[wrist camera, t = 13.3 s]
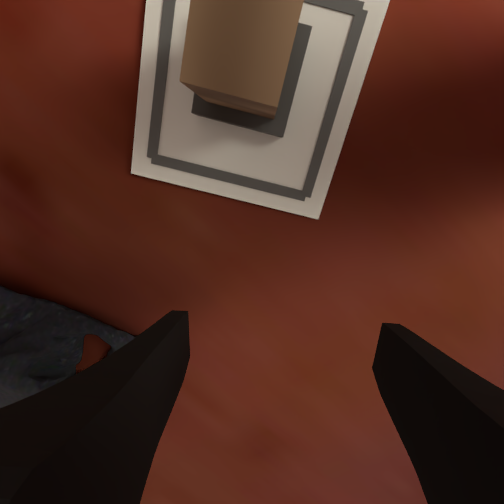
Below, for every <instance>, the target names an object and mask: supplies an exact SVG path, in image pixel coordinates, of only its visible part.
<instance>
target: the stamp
mask: <svg viewBox="0 0 504 504" xmlns="http://www.w3.org/2000/svg"><path fill="white" fill-rule="evenodd" d="M303 2H304V0H190V7H189V14H188V21H187V29H186V36H185V43H184V50H183V58H182V65H181V72H180V79H179V81H180V82H181V83H182V84H184V85H185V86H186V87H188V88H189V89H190V90H192V91H193V92H194V97H193V104H192V110H191V113H193V114H195V115H197V116H201V117H205V118H208V119H212V120H216V121H220V122H224V123H227V124H231V125H235V126H239V127H243V128H246V129H250V130H254V131H258V132H262V133H265V134H269V135H273V136H277V137H281V138H282V137H283V136H284V132H285V129H286V125H287V121H288V117H289V113H290V110H291V106H292V102H293V98H294V94H295V91H296V87H297V83H298V79H299V75H300V72H301V68H302V64H303V60H304V56H305V53H306V49H307V45H308V41H309V37H310V34H311V30H312V26H310V25H306V24H302V23H299V18H300V14H301V10H302V6H303Z"/></svg>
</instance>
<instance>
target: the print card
mask: <svg viewBox="0 0 504 504" xmlns="http://www.w3.org/2000/svg"><path fill="white" fill-rule="evenodd" d="M389 2H390V0H304V2H303V6H302V10H301V14H300V18H299V23H302V24H306V25H310V26H312V30H311V34H310V37H309V41H308V45H307V49H306V53H305V56H304V60H303V64H302V68H301V72H300V75H299V79H298V83H297V87H296V91H295V94H294V98H293V102H292V106H291V110H290V113H289V117H288V121H287V125H286V129H285V132H284V136H283V137H282V138H281V137H277V136H273V135H269V134H265V133H262V132H258V131H254V130H250V129H246V128H243V127H239V126H235V125H231V124H227V123H224V122H220V121H216V120H212V119H208V118H205V117H201V116H197V115H195V114H193V113H191V110H192V104H193V97H194V92H193V91H192V90H190V89H189V88H188V87H186V86H185V85H184V84H182V83H181V82H180V81H179V79H180V72H181V65H182V58H183V50H184V43H185V36H186V29H187V21H188V14H189V7H190V0H146V8H145V20H144V31H143V42H142V53H141V65H140V76H139V87H138V99H137V110H136V121H135V132H134V144H133V155H132V166H131V174H135V175H140V176H144V177H148V178H152V179H156V180H160V181H164V182H168V183H172V184H176V185H180V186H184V187H188V188H192V189H196V190H200V191H204V192H208V193H212V194H217V195H221V196H225V197H229V198H233V199H237V200H241V201H245V202H249V203H253V204H257V205H261V206H265V207H269V208H273V209H277V210H281V211H285V212H289V213H294V214H298V215H302V216H306V217H310V218H314V219H319V216H320V213H321V210H322V207H323V204H324V201H325V198H326V194H327V191H328V188H329V185H330V182H331V179H332V176H333V173H334V170H335V167H336V164H337V161H338V158H339V155H340V152H341V149H342V145H343V142H344V139H345V136H346V133H347V130H348V127H349V124H350V121H351V118H352V115H353V112H354V109H355V106H356V103H357V100H358V96H359V93H360V90H361V87H362V84H363V81H364V78H365V75H366V72H367V69H368V66H369V63H370V60H371V57H372V54H373V51H374V47H375V44H376V41H377V38H378V35H379V32H380V29H381V26H382V23H383V20H384V17H385V14H386V11H387V8H388V5H389Z"/></svg>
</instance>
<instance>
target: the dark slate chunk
mask: <svg viewBox="0 0 504 504" xmlns="http://www.w3.org/2000/svg"><path fill="white" fill-rule="evenodd" d="M86 334H94V335H97V336H99V337H100V338H101V339H102V340H104V341H105V342H106V343H107V344H109V345H110V346H111V349H110V351H109V352H108V354H107V356H109V355H110V354H112V353H113V352H115V351H116V350H118V349H119V348H121V347H122V346H124V345H125V344H127V343H128V342H130V341H131V340H133V339H134V338H136V337H137V336H136V337H134V336H132V335H131V334H129V333H127V332H124V331H119V330H117V329H115V328H114V327H112V326H110V325H107V324H105V323H102V322H100V321H98V320H96V319H94V318H92V317H90V316H88V315H86V314H83V313H80V312H78V311H75V310H71V309H70V308H67V307H65V306H63V305H58V304H57V303H55V302H51V301H48V300H45V299H38V298H34V297H31V296H28V295H22V294H18V293H16V292H14V291H12V290H9V289H7V288H5V287H3V286H0V408H2V407H5V406H7V405H10V404H12V403H15V402H17V401H20V400H22V399H24V398H27V397H29V396H31V395H34V394H36V393H38V392H41V391H43V390H45V389H47V388H49V387H51V386H53V385H55V384H57V383H59V382H61V381H63V380H66V379H68V378H70V377H72V376H74V375H76V364H78V363H79V362H80V361H81V358H82V353H83V343H84V336H85V335H86Z"/></svg>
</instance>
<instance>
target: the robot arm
mask: <svg viewBox="0 0 504 504" xmlns="http://www.w3.org/2000/svg"><path fill="white" fill-rule="evenodd" d="M189 358H190V345H189V321H188V311H174V310H172V311H171V312H169V313H168V314H166V315H165V316H164V317H162V318H161V319H160V320H158V321H157V322H156V323H154V324H153V325H152V326H151V327H149V328H148V329H146V330H145V331H144V332H142V333H141V334H140V335H138V336H137V337H136V338H134V339H133V340H131V341H130V342H128V343H127V344H125V345H124V346H122V347H121V348H119V349H118V350H116V351H115V352H113V353H112V354H110V355H109V356H107V357H106V358H104V359H102V360H101V361H99V362H97V363H96V364H94V365H92V366H90V367H88V368H87V369H85V370H83V371H81V372H79V373H78V374H76V375H74V376H72V377H70V378H68V379H66V380H63V381H61V382H59V383H57V384H55V385H53V386H51V387H49V388H47V389H45V390H43V391H41V392H38V393H36V394H34V395H31V396H29V397H27V398H24V399H22V400H20V401H17V402H15V403H12V404H10V405H7V406H5V407H2V408H0V504H140V501H141V497H142V494H143V490H144V487H145V484H146V480H147V477H148V474H149V470H150V467H151V464H152V461H153V457H154V454H155V451H156V449H157V446H158V443H159V440H160V438H161V435H162V433H163V431H164V428H165V426H166V423H167V421H168V418H169V416H170V413H171V411H172V408H173V406H174V403H175V401H176V398H177V396H178V393H179V391H180V388H181V386H182V383H183V380H184V377H185V373H186V370H187V366H188V362H189ZM372 369H373V372H374V376H375V379H376V382H377V385H378V388H379V391H380V394H381V397H382V399H383V401H384V403H385V405H386V408H387V410H388V412H389V414H390V416H391V418H392V421H393V423H394V425H395V427H396V429H397V431H398V433H399V436H400V438H401V440H402V442H403V444H404V446H405V448H406V450H407V453H408V455H409V457H410V459H411V461H412V464H413V466H414V468H415V471H416V473H417V475H418V478H419V481H420V484H421V486H422V489H423V492H424V495H425V497H426V500H427V503H428V504H504V390H502V389H501V388H499V387H497V386H495V385H494V384H492V383H490V382H489V381H487V380H485V379H484V378H482V377H480V376H479V375H477V374H475V373H474V372H472V371H471V370H469V369H467V368H466V367H464V366H463V365H461V364H460V363H458V362H457V361H455V360H453V359H452V358H450V357H449V356H447V355H446V354H444V353H443V352H441V351H440V350H439V349H437V348H436V347H434V346H433V345H431V344H430V343H428V342H427V341H425V340H424V339H422V338H421V337H419V336H418V335H416V334H415V333H413V332H412V331H410V330H409V329H407V328H405V327H404V326H402V325H400V324H392V323H382V327H381V331H380V335H379V340H378V344H377V349H376V353H375V358H374V362H373V366H372Z"/></svg>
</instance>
